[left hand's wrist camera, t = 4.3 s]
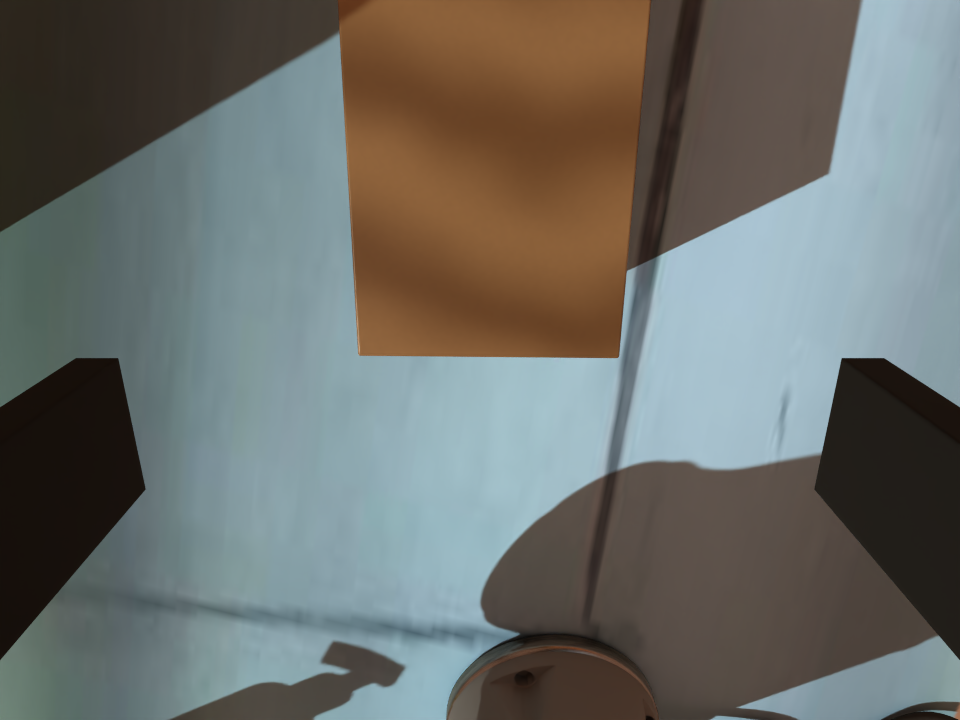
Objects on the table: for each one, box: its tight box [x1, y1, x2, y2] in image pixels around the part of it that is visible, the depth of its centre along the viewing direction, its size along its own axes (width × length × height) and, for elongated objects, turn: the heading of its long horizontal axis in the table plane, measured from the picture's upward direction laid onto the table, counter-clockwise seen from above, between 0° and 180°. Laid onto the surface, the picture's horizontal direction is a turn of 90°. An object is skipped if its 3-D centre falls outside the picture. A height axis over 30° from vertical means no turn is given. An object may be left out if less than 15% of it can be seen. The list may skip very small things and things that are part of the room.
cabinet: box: [338, 0, 651, 358], centre depth 30 cm, size 20×11×10 cm, turn 179°
